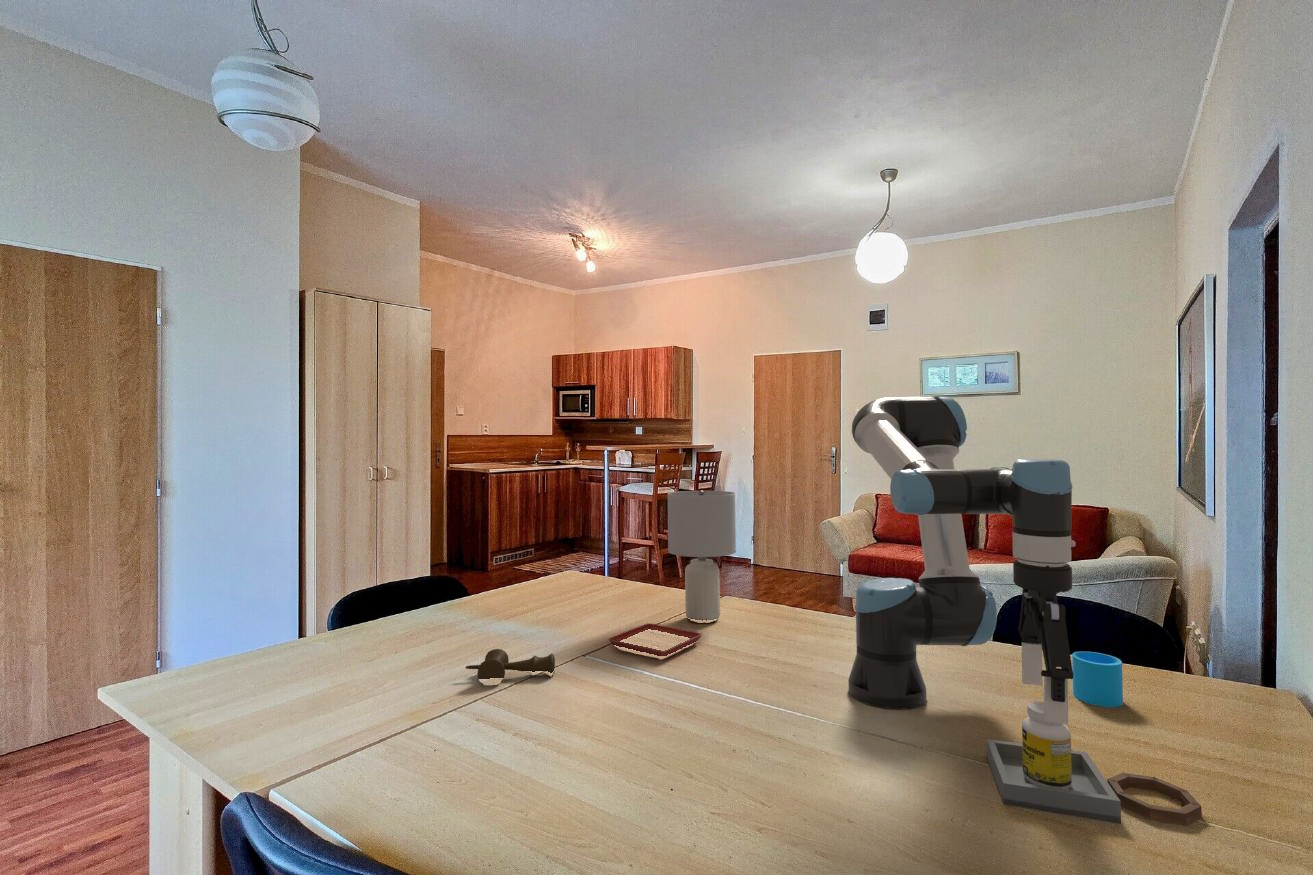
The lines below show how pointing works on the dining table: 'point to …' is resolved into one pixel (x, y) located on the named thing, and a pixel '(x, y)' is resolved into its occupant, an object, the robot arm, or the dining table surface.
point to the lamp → (702, 544)
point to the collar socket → (1154, 812)
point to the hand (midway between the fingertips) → (1043, 701)
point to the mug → (1097, 679)
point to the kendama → (510, 664)
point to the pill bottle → (1046, 750)
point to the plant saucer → (679, 632)
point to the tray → (1081, 800)
